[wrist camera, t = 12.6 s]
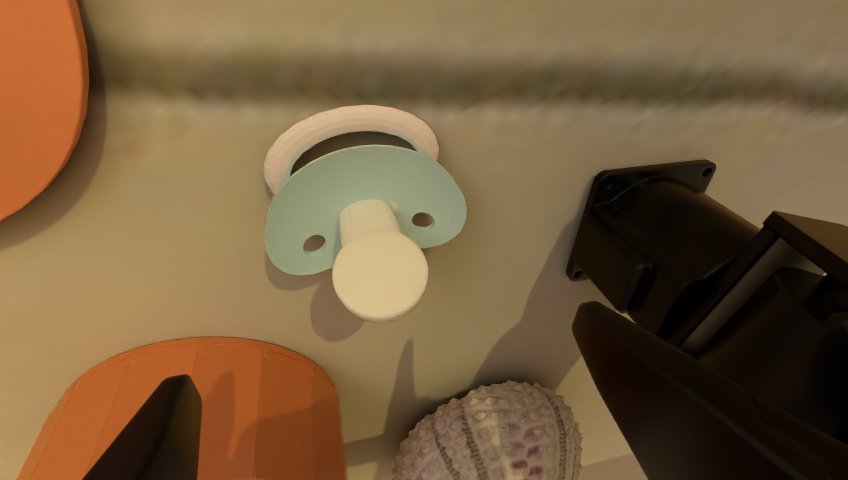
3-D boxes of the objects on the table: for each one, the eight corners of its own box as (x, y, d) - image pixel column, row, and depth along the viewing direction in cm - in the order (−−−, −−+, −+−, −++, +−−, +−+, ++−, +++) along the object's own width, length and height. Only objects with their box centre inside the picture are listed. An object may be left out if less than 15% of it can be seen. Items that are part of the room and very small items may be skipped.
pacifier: (233, 118, 14) (285, 257, 17) (196, 212, 9) (279, 380, 12) (443, 84, 15) (450, 221, 18) (516, 150, 10) (507, 321, 13)
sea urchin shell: (585, 354, 28) (668, 473, 22) (524, 455, 36) (572, 565, 29) (400, 374, 24) (437, 526, 18) (374, 483, 32) (394, 617, 25)
